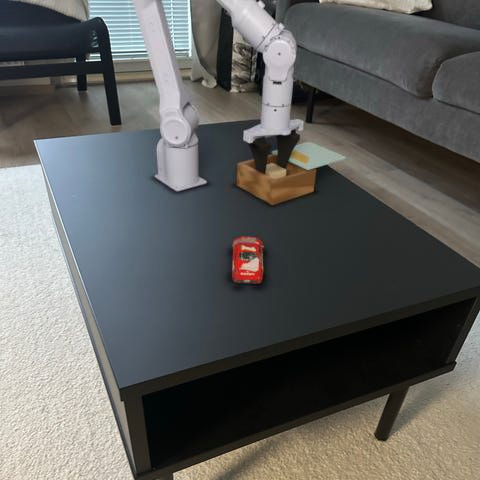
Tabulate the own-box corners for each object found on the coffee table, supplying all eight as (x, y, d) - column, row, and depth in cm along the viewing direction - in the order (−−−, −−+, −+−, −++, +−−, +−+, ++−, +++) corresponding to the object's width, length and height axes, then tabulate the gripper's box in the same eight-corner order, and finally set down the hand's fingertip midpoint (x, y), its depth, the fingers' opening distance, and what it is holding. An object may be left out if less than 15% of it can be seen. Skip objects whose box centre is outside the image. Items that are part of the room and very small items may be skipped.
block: (255, 187, 109) (256, 167, 106) (271, 182, 111) (272, 162, 109) (269, 194, 106) (270, 174, 104) (284, 189, 109) (286, 169, 106)
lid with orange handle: (271, 153, 112) (272, 145, 111) (308, 143, 118) (309, 136, 117) (307, 170, 105) (308, 162, 104) (345, 159, 111) (346, 151, 110)
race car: (232, 245, 90) (233, 225, 88) (262, 247, 90) (264, 227, 88) (228, 287, 80) (229, 265, 77) (262, 288, 80) (264, 267, 77)
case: (236, 185, 111) (237, 163, 107) (277, 173, 117) (279, 152, 113) (272, 205, 103) (274, 182, 100) (313, 191, 109) (316, 169, 106)
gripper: (261, 114, 92) (257, 184, 100) (317, 102, 99) (308, 168, 108) (237, 104, 96) (235, 172, 105) (293, 94, 103) (286, 158, 112)
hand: (271, 170), depth 106 cm, fingers open, 5 cm apart
